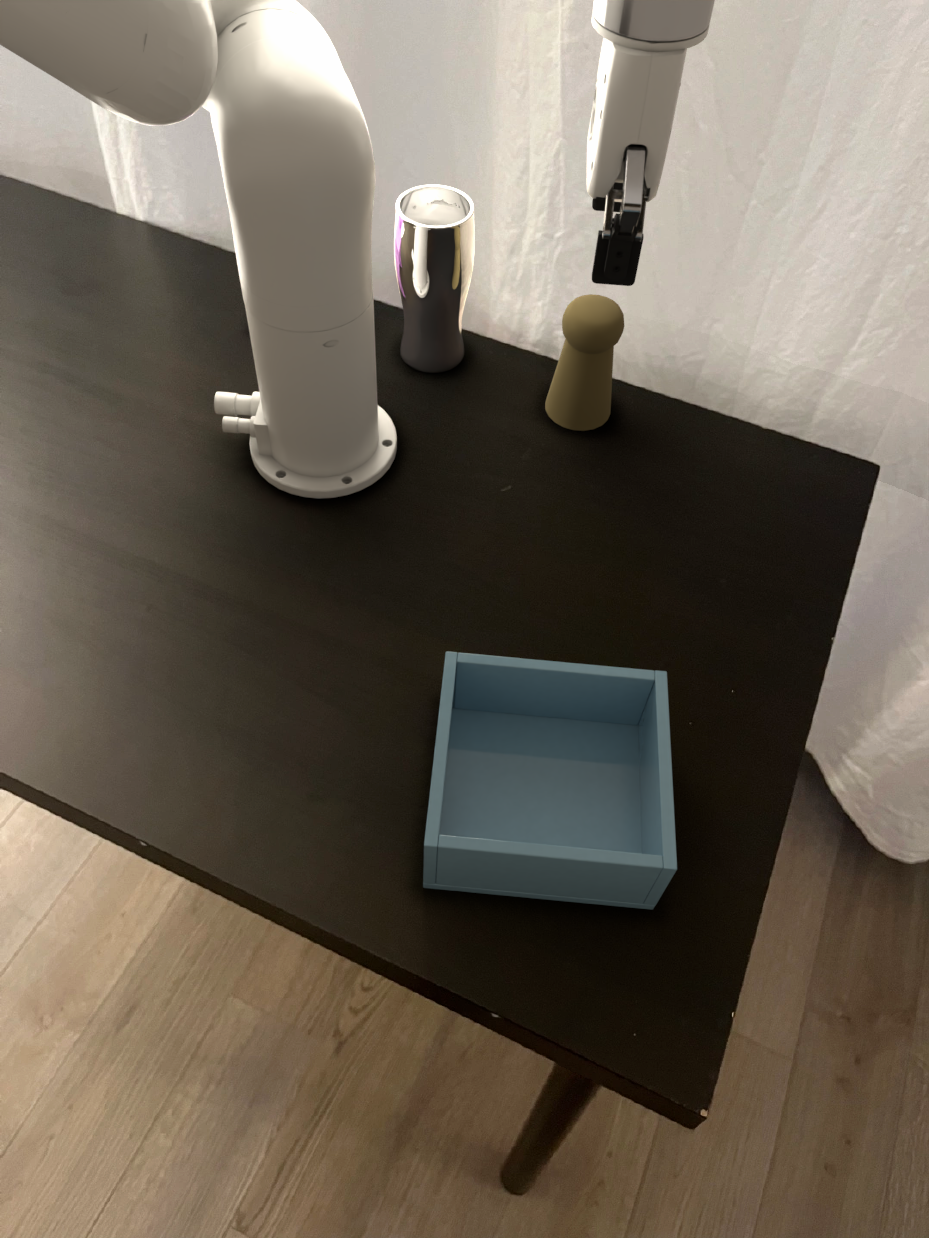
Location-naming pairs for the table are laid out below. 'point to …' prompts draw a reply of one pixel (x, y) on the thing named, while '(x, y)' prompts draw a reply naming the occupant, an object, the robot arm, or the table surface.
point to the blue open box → (551, 782)
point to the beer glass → (433, 273)
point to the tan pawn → (585, 363)
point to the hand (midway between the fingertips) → (611, 245)
